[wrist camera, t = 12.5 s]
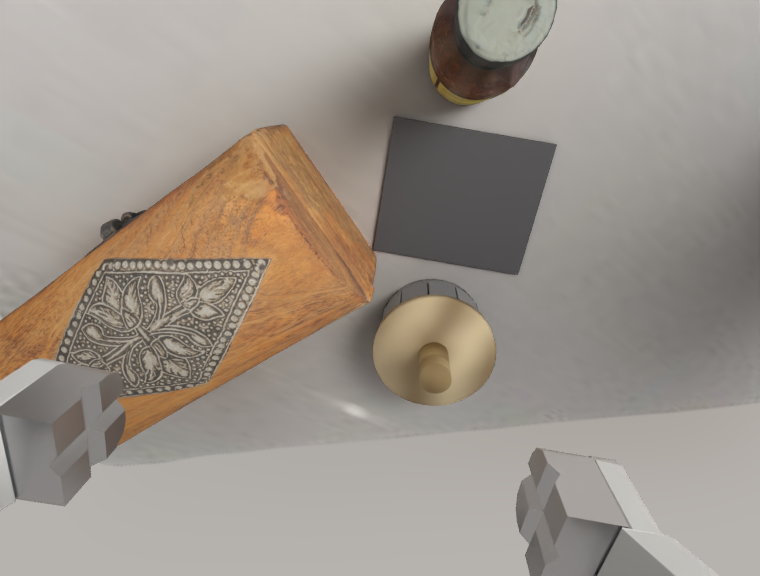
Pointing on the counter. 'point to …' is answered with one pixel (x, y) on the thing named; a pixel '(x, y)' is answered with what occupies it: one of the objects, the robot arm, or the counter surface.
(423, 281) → the bowl
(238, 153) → the wooden box
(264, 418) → the counter surface
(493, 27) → the sauce bottle
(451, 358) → the lid
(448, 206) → the mat
